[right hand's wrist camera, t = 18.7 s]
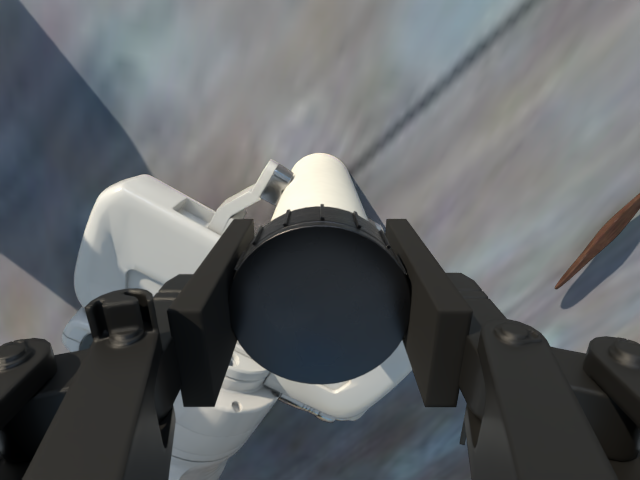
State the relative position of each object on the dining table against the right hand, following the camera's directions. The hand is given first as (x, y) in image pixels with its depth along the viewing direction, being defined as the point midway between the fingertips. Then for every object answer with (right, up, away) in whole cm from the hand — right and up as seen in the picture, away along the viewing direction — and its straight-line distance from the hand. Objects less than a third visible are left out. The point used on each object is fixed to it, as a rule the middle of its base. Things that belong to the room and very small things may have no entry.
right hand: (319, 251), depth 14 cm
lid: (0, -1, -4) cm, 4 cm away
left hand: (0, +3, +5) cm, 6 cm away
